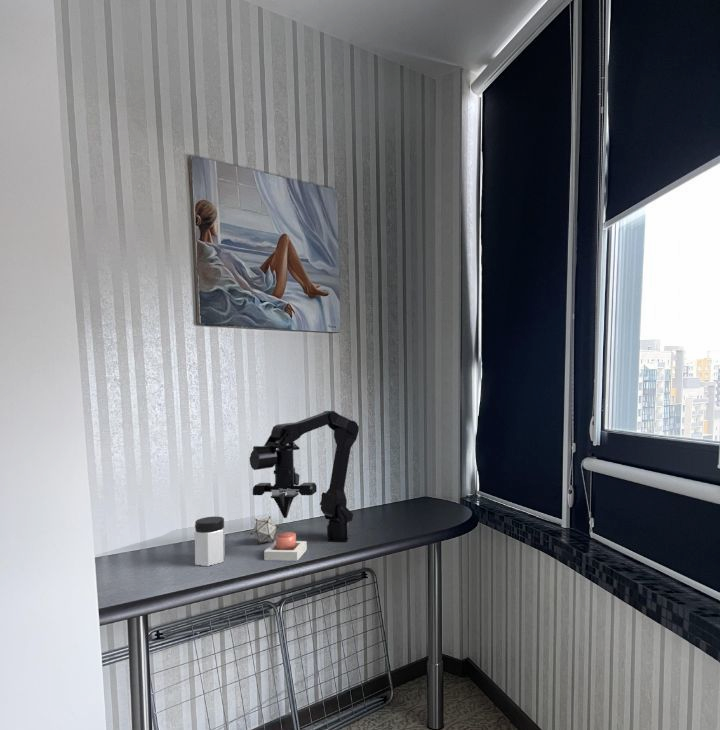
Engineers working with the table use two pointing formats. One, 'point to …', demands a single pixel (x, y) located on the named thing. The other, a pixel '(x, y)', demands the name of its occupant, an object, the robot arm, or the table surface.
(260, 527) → the grey icosahedron ornament
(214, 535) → the jar
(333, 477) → the robot arm
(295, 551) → the base
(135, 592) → the table surface
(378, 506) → the table surface
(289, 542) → the popper button
